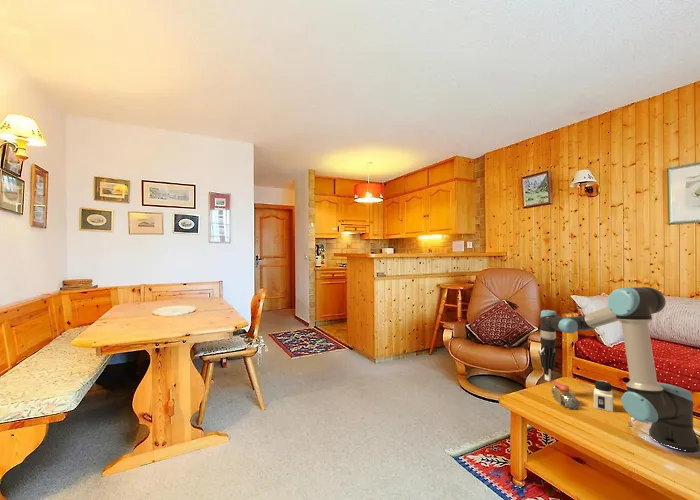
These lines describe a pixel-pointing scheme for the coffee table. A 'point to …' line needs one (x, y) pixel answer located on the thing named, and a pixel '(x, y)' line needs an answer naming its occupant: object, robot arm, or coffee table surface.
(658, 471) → the coffee table surface
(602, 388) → the container
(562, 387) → the lever
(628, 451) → the coffee table surface
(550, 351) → the robot arm
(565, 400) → the valve pipe
